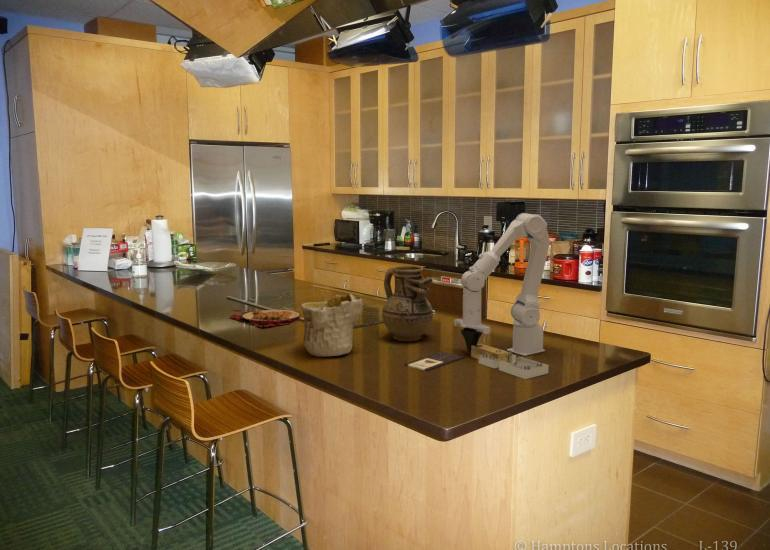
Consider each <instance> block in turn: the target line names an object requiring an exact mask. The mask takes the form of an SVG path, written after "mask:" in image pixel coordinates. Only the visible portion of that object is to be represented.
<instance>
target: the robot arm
mask: <svg viewBox="0 0 770 550" xmlns="http://www.w3.org/2000/svg"><path fill="white" fill-rule="evenodd" d="M522 238H526V239H527V240H528V242H529V243H530V245H531V247H530V251H529V254H528V255H529V256H528V259H527V265H526V268H525V273H524V275H523V276H524V277H523V282H522V285H521V290H520V293H519V294H517V296H516V298H515V302H514V303H513V304H512V306H511V308H510V316H511V317H512V318H513V322H512V326H513V327H512V347H510V348H507V349H506V351H507V352H512V354H513V353H514V354H517V355H521V356H522V357H525V356H526V357H527V356H530V355H534V354H538V353H543V352H545V351H546V350H545V349H544V329H543V327H542V325H540V323H539V321H540V318H541V314H540V306H541V305H540V304H541V303H540V300H539V297H538V295H539V292H540V287H541V283H542V279H543V275H544V270H545V266H546V261H547V257H548V253H549V249H550V245H551V240H550V236H549V232H548V223H547V222H546V220H545V218H543V217H542V216H541V215H540V214H537V213H536V214H535V213H534V214H533V213H527V212H522V213H520V214H518V215H517V216H516V218H515V219H514V220H512V221H511V222H510V224H509V226H508V227H507V229H506V230H505V232H504V233H503V234H502V235H501V237H500V238H499V239H498V240H497V242H496V243H495V245H494V246H493V247H492V248H491V250H489V251H484V252H483V253H480V254H479V255H478V260H476V262H475V263H474V264H473V265H472V266H470V267H468V270H467V271H465V272H464V273H463V274H462V276H461V278H460V285H461V286H462V287H463V289H462V291H463V292H462V293H463V294H462V318H456V319H454V321H453V322H454V326H455V327H462V328H463V329H461V330H460V333H461V334H462V337H463V339H464V343H465V346H466V351H467V352H468V353H470V354H471V345H476V344H479V340H480V338H481V337H482V334H483V335H488V334H491V326H487V325H486V324H485V323H482V288H484V287H485V282H486V279H487V278H488V277H489V276H490V275H491V273H493V271H494V270H495V269H496V268H497V266H498V265H500V263H499V262H500V257H501V256H502V255H503V254H504V253H505V252H506V251H507V250H508V249H509V247H511V245H513V243H514V242H515V241H516V240H518V239H522Z"/></svg>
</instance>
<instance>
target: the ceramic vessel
mask: <svg viewBox="0 0 770 550" xmlns="http://www.w3.org/2000/svg"><path fill="white" fill-rule="evenodd" d="M363 302H364V301H363V299H362V297H360V296H355V295H353V294H352V293H348V294H347V295H344V294H342V295H340V294H336V295H334V296H332V297H331V298H329V299H328V300H325V301H319V302H318V301H317V302H311V301H310V302H305V303H302V304H301V305H300V308H301V311H302V314H303V315H304V316H303V315H302V316H303V317H304V319H303V320H304V322H303V326H304V332H303V338H302V339H303V341H302V343H303V346H304V347H305V350H306V351H307V352H308V353H309V354H310V355H311V356H314V357H317V358H323V357H324V358H325V357H337V356H342V355H346V354H349V353H351V350H352V349H353V340H354V339H353V335H354V333H353V331H354V323H356V322H357V321H358V317H359V316H360V315H361V314H362V313H363V309H364V303H363Z"/></svg>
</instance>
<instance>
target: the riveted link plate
mask: <svg viewBox="0 0 770 550" xmlns="http://www.w3.org/2000/svg"><path fill="white" fill-rule="evenodd" d="M504 350H505V349H500V348H497V347H494V346H490V345H487V344H483V343H477V344H476V345H471V353H470V357H471V358H474V359H477V360H479V355H482V354H487V356H494V358H496V359H498V367H499V362H500V361H506V362H508V352H509V351H507V350H505V351H504Z"/></svg>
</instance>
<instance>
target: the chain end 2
mask: <svg viewBox="0 0 770 550" xmlns="http://www.w3.org/2000/svg"><path fill="white" fill-rule="evenodd" d="M498 371H501V372H503V373H506V374H509V375H512V376H514V377H517V378H521V379H523V380H529V379H533V378H536V377H540V376H543V375H544V376H545V375H547V374H549V364H548V363H547V364H546V363H544V362H543V363H542V362H540V361H536V360H533V359H530V358H526V357H525V356H518V357H516V363H515V364H512V363H509V362H506V361H500V362H499V366H498Z"/></svg>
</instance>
